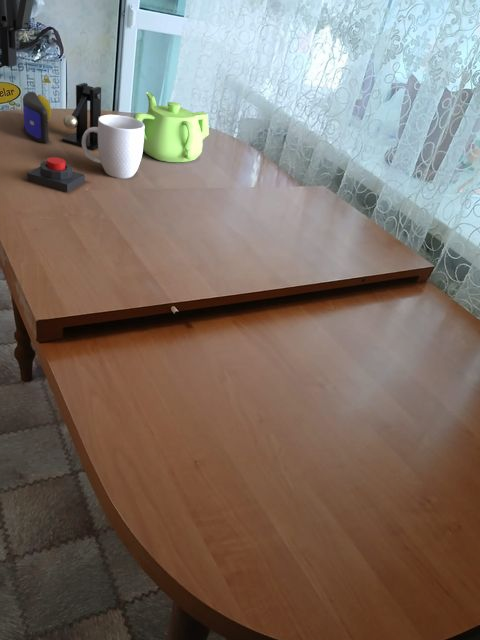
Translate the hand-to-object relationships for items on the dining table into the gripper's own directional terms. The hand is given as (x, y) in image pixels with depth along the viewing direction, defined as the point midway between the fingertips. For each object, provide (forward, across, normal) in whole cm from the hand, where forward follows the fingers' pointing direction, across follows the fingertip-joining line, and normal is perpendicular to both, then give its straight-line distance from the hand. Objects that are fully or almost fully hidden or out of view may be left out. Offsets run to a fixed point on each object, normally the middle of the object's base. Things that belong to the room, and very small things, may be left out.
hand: (9, 64), depth 109 cm
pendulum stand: (+25, +1, -37) cm, 45 cm away
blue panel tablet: (+25, +13, -33) cm, 43 cm away
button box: (+25, -7, -6) cm, 26 cm away
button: (+21, -7, -6) cm, 23 cm away
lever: (+16, +2, -33) cm, 37 cm away
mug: (+24, -14, -21) cm, 35 cm away
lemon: (+25, +18, -42) cm, 52 cm away
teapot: (+24, -19, -46) cm, 55 cm away
